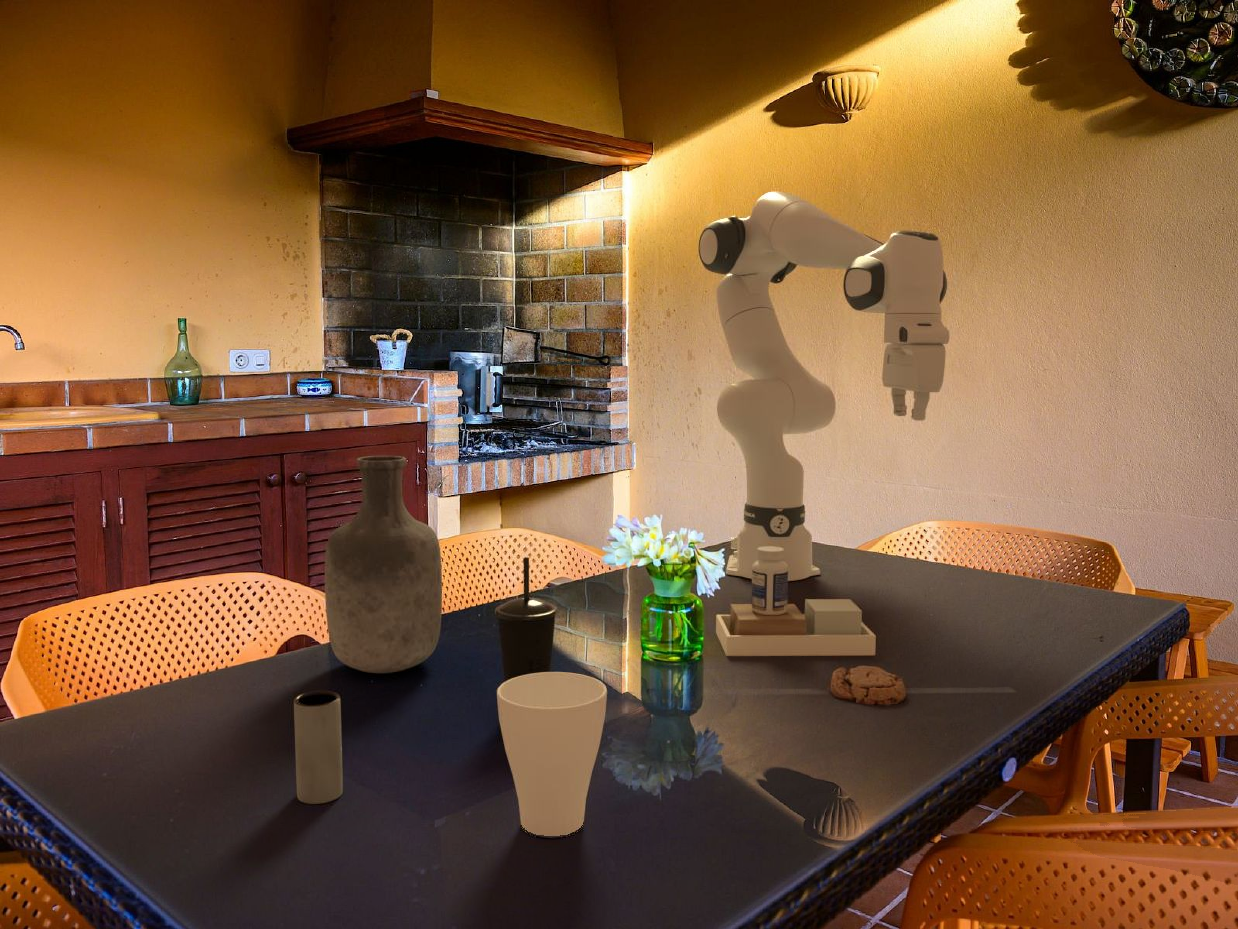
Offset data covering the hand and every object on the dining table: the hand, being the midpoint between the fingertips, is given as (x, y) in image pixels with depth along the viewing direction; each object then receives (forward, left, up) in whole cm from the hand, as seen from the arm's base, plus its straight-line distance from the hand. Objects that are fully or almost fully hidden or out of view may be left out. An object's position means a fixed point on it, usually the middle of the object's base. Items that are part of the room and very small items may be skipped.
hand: (908, 418), depth 168 cm
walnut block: (+14, -25, -34) cm, 44 cm away
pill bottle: (+14, -25, -29) cm, 40 cm away
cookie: (+34, -15, -35) cm, 51 cm away
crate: (+14, -21, -34) cm, 42 cm away
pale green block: (+14, -15, -34) cm, 39 cm away
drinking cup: (+42, -60, -34) cm, 81 cm away
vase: (+23, -81, -34) cm, 91 cm away
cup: (+71, -56, -34) cm, 97 cm away
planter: (+64, -80, -34) cm, 108 cm away
